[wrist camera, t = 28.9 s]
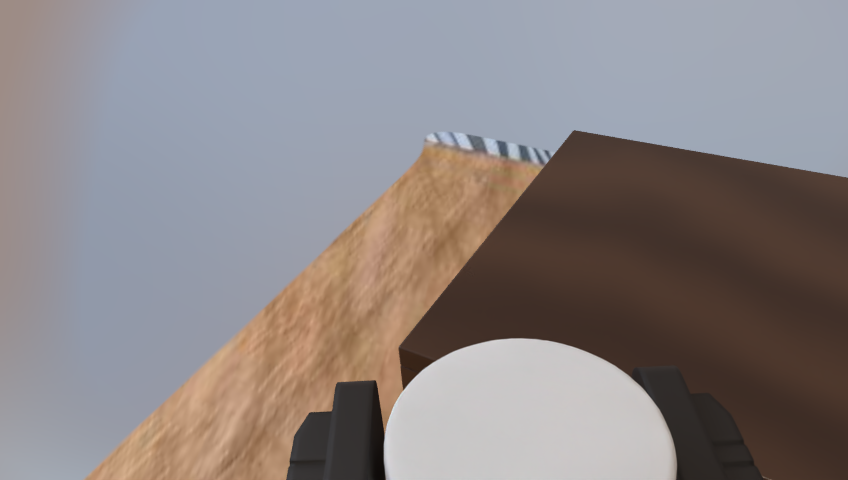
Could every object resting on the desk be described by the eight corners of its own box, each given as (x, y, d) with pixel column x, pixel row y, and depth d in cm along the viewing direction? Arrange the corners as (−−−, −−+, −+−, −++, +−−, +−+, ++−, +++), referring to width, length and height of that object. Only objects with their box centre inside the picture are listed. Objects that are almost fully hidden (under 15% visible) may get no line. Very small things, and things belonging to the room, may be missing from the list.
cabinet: (777, 723, 21) (895, 525, 15) (420, 545, 26) (397, 346, 20) (819, 380, 31) (896, 185, 25) (560, 305, 37) (573, 129, 31)
